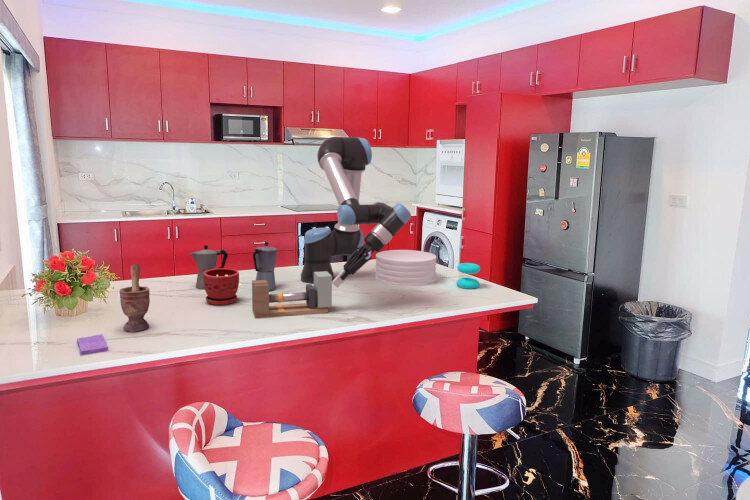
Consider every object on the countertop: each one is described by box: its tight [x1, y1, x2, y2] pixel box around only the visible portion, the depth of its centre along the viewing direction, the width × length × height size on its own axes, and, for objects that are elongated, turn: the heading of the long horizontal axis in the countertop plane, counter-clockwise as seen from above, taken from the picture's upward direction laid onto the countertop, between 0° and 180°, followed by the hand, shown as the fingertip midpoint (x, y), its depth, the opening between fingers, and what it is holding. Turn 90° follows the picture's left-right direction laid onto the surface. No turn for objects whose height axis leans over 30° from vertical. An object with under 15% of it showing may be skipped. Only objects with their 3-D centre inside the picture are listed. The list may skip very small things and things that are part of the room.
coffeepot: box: [189, 244, 229, 290], centre depth 220 cm, size 15×9×18 cm, turn 113°
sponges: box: [76, 333, 109, 356], centre depth 152 cm, size 7×13×2 cm, turn 34°
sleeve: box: [313, 271, 333, 308], centre depth 191 cm, size 8×5×12 cm, turn 18°
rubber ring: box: [305, 283, 315, 308], centre depth 190 cm, size 7×2×7 cm, turn 18°
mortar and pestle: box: [119, 263, 151, 333], centre depth 167 cm, size 12×9×20 cm
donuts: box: [455, 262, 481, 290], centre depth 231 cm, size 10×10×10 cm
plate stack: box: [375, 249, 437, 287], centre depth 242 cm, size 28×28×12 cm
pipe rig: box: [251, 279, 329, 319], centre depth 188 cm, size 9×26×12 cm, turn 108°
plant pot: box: [203, 267, 240, 306], centre depth 198 cm, size 13×13×12 cm
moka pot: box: [252, 241, 279, 292], centre depth 217 cm, size 10×15×20 cm, turn 161°
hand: (334, 285), depth 192 cm, fingers closed
